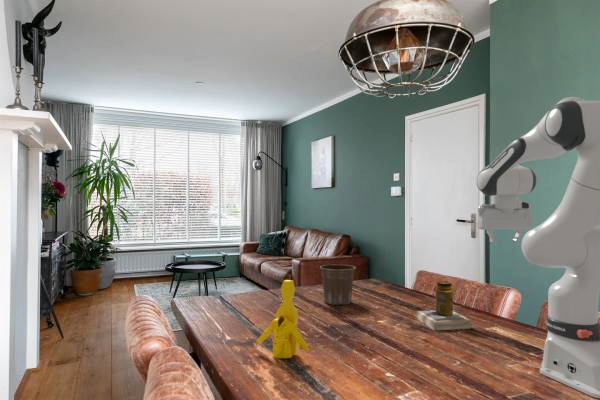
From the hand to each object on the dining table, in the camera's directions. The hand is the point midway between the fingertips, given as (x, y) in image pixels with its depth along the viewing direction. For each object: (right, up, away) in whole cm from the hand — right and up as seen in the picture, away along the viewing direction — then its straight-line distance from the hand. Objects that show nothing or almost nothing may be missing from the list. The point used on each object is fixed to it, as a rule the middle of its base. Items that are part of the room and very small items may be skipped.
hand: (504, 241), depth 146 cm
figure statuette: (-80, -31, -27) cm, 89 cm away
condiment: (-22, -28, +3) cm, 35 cm away
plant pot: (-58, -31, +35) cm, 75 cm away
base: (-21, -31, +4) cm, 38 cm away
